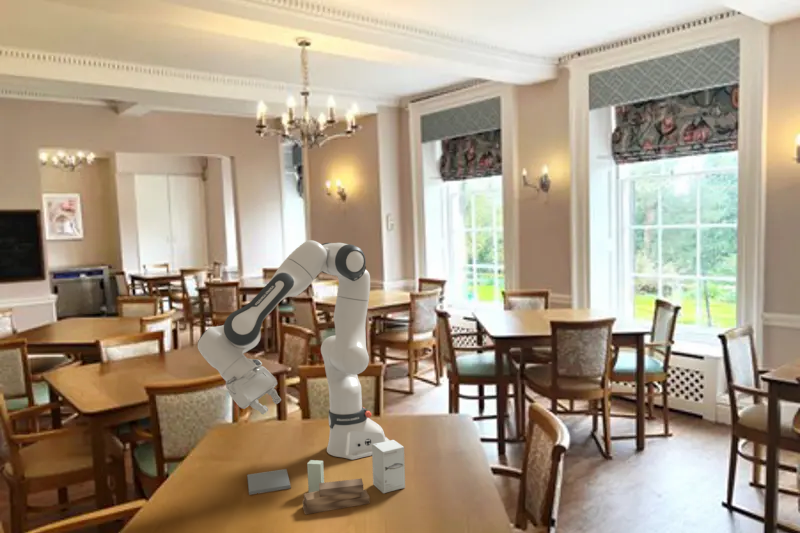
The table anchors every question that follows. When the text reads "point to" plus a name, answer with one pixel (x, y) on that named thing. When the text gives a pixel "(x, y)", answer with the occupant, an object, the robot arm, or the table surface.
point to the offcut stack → (335, 496)
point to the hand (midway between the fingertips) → (272, 407)
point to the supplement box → (388, 466)
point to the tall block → (315, 475)
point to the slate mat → (268, 481)
